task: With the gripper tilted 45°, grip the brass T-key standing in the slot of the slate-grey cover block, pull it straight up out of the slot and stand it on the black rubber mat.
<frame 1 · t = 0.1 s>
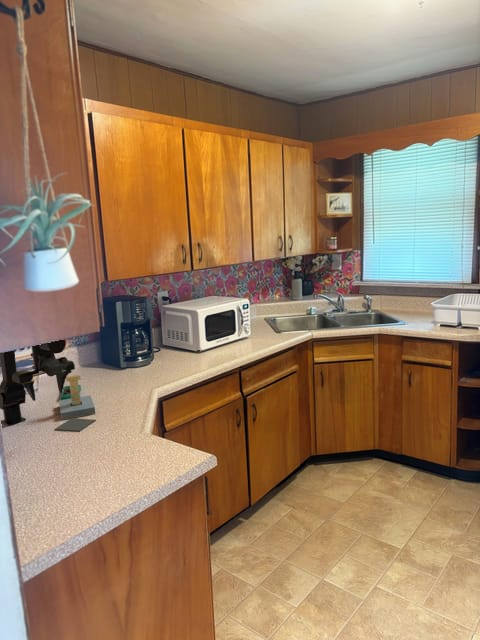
hand: (47, 396, 156), 15 cm above the worktop, tool pointing down, fingers open, 9 cm apart
brass key: (76, 410, 185), resting in cover block
digital multimeter: (71, 396, 204), on the worktop
cover block: (76, 409, 185), on the worktop
rubber mat: (75, 425, 169), on the worktop
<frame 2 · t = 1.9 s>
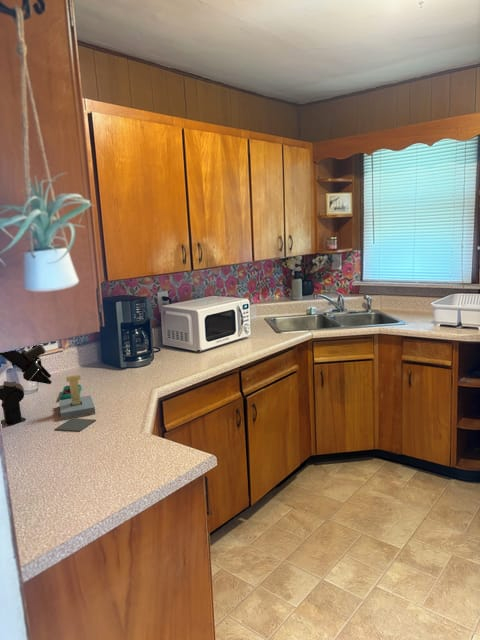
hand: (50, 379, 180), 13 cm above the worktop, tool tilted 45°, fingers open, 9 cm apart
nothing on the worktop moved.
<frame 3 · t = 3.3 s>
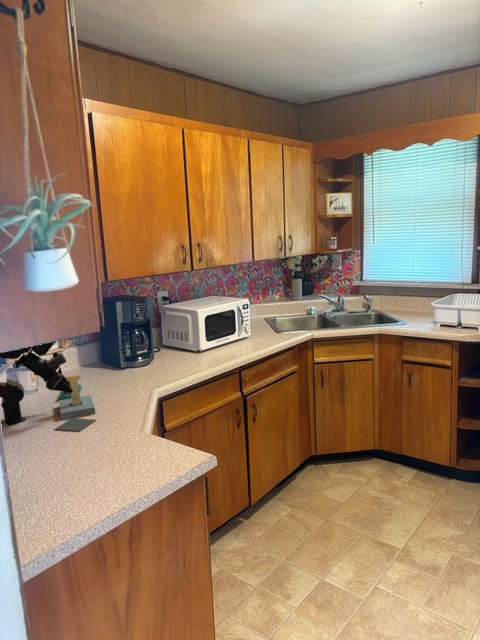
hand: (71, 388, 183), 9 cm above the worktop, tool tilted 45°, fingers open, 9 cm apart
nothing on the worktop moved.
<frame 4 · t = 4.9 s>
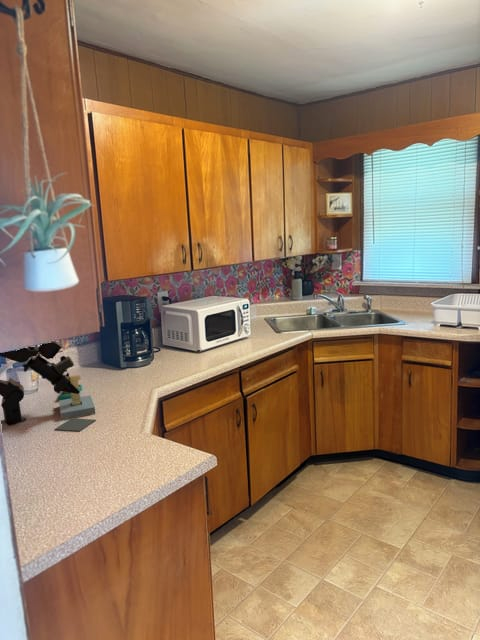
hand: (78, 391, 184), 7 cm above the worktop, tool tilted 45°, fingers closed on brass key, 3 cm apart
brass key: (77, 409, 185), resting in cover block, touching gripper
everything else where it was.
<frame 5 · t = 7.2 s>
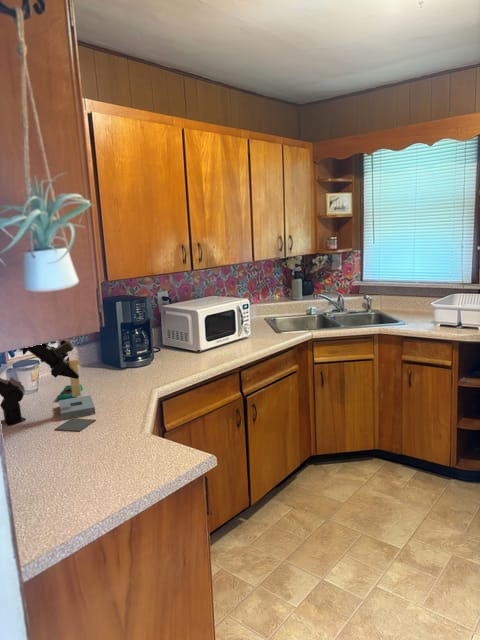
hand: (78, 376, 182), 14 cm above the worktop, tool tilted 45°, fingers closed on brass key, 3 cm apart
brass key: (76, 395, 182), point 6 cm above the worktop, touching gripper
everything else where it was.
when the fingers open (8 cm above the worktop, at t = 9.6 s): brass key stays where it is, resting on rubber mat.
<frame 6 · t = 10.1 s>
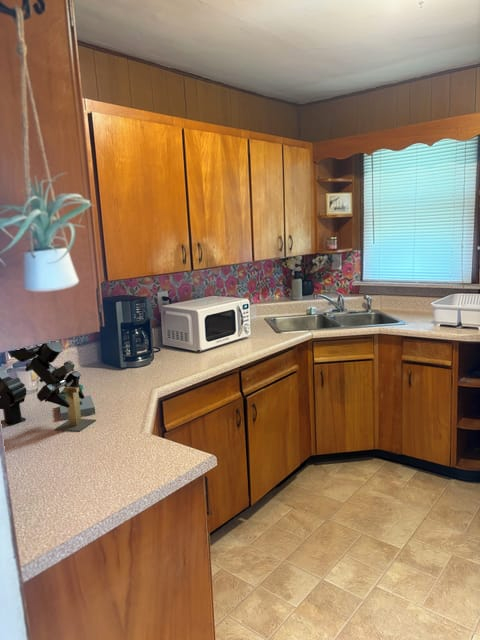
hand: (76, 402, 167), 9 cm above the worktop, tool tilted 45°, fingers open, 8 cm apart
brass key: (75, 424, 169), resting on rubber mat
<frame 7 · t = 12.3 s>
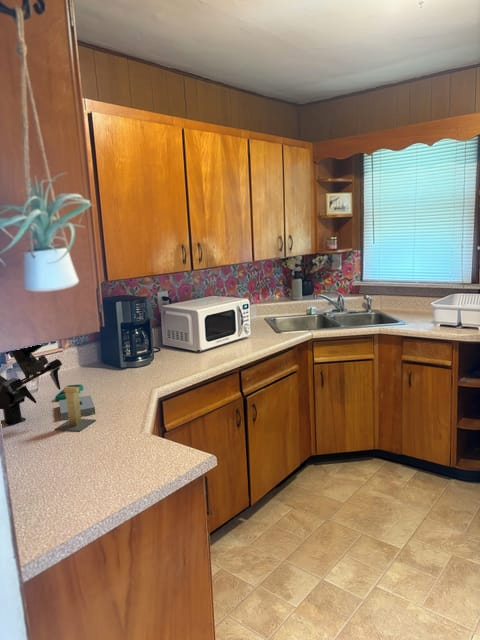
hand: (48, 396, 170), 10 cm above the worktop, tool tilted 30°, fingers open, 9 cm apart
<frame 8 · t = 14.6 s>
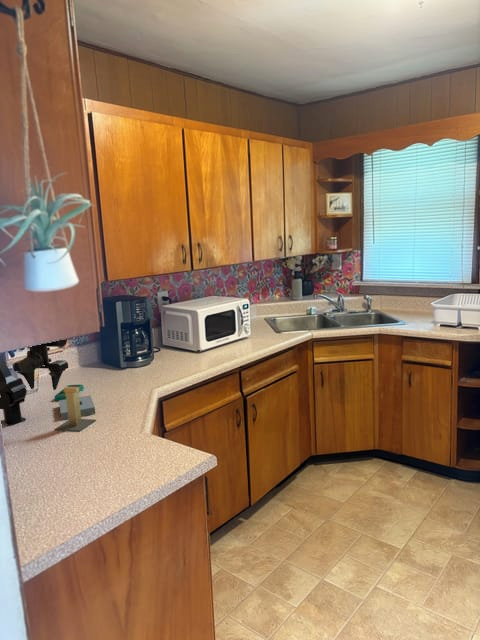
hand: (43, 389, 170), 13 cm above the worktop, tool pointing down, fingers open, 9 cm apart
at the end: brass key inside the target area on the rubber mat (0.0 cm from its centre), point 0.4 cm above the rubber mat's base; brass key tilted 0°; the gripper is holding nothing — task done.
